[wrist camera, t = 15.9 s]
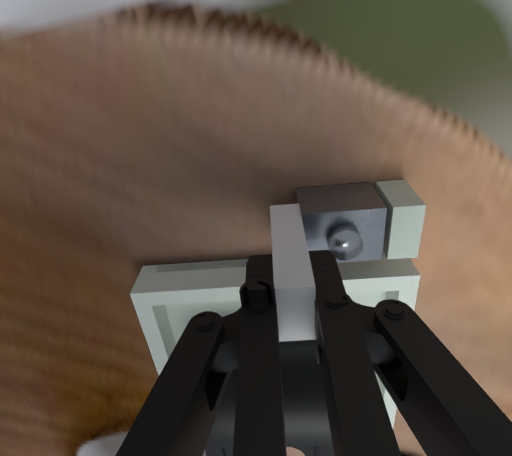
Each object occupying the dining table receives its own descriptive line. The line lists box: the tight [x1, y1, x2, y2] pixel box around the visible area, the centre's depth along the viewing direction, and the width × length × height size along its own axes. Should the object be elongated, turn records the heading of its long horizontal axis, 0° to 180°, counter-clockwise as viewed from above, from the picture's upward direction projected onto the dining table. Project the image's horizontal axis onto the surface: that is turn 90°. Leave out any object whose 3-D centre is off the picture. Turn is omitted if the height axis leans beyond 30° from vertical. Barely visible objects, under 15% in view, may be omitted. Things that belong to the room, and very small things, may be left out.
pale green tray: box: [130, 179, 426, 428], centre depth 23 cm, size 16×20×3 cm
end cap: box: [205, 339, 334, 456], centre depth 22 cm, size 10×7×7 cm
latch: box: [296, 182, 387, 263], centre depth 19 cm, size 4×3×4 cm
